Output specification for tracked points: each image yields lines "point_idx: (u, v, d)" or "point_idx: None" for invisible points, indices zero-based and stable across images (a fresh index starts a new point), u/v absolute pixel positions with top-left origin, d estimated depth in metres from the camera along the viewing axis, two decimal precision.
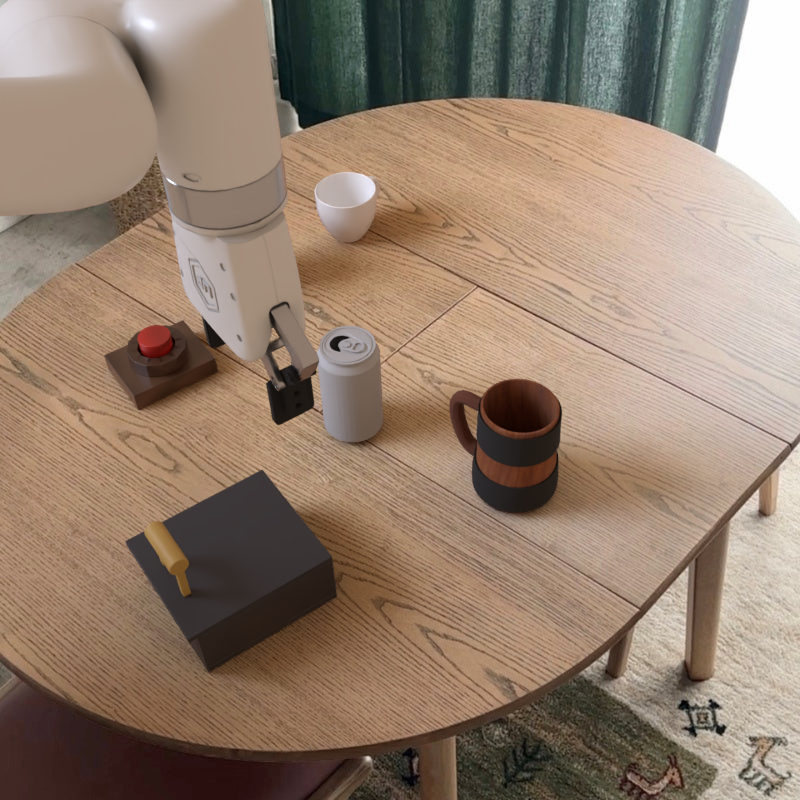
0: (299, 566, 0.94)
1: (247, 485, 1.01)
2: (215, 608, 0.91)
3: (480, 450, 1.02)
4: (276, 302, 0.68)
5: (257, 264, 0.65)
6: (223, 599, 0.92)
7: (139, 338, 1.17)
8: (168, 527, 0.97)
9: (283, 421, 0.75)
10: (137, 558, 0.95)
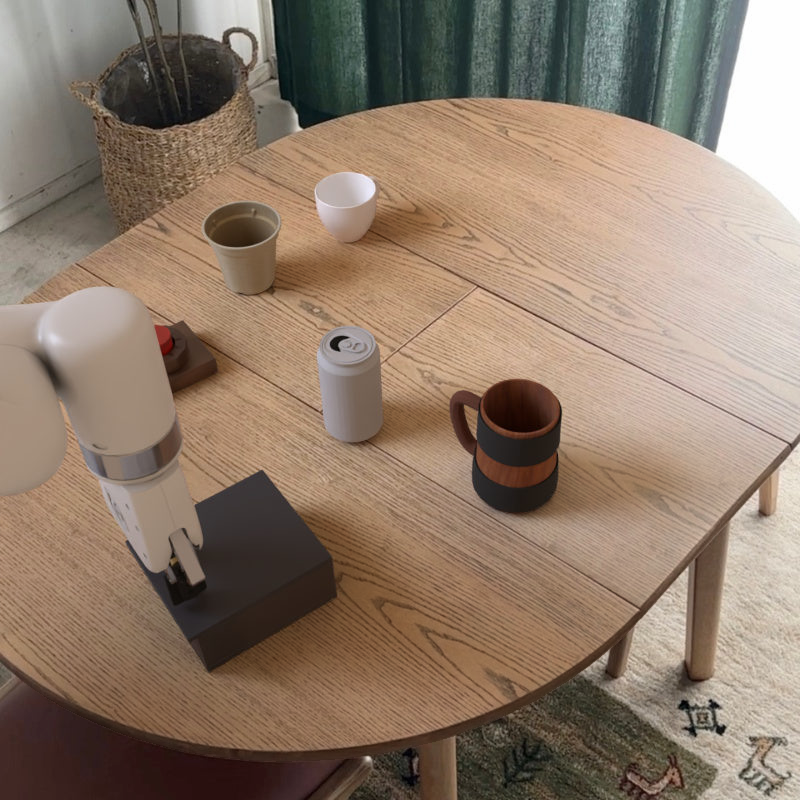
0: (299, 566, 0.94)
1: (247, 485, 1.01)
2: (215, 608, 0.91)
3: (480, 450, 1.02)
4: (174, 529, 0.82)
5: (155, 505, 0.79)
6: (223, 599, 0.92)
7: None
8: None
9: (180, 602, 0.91)
10: (137, 558, 0.95)
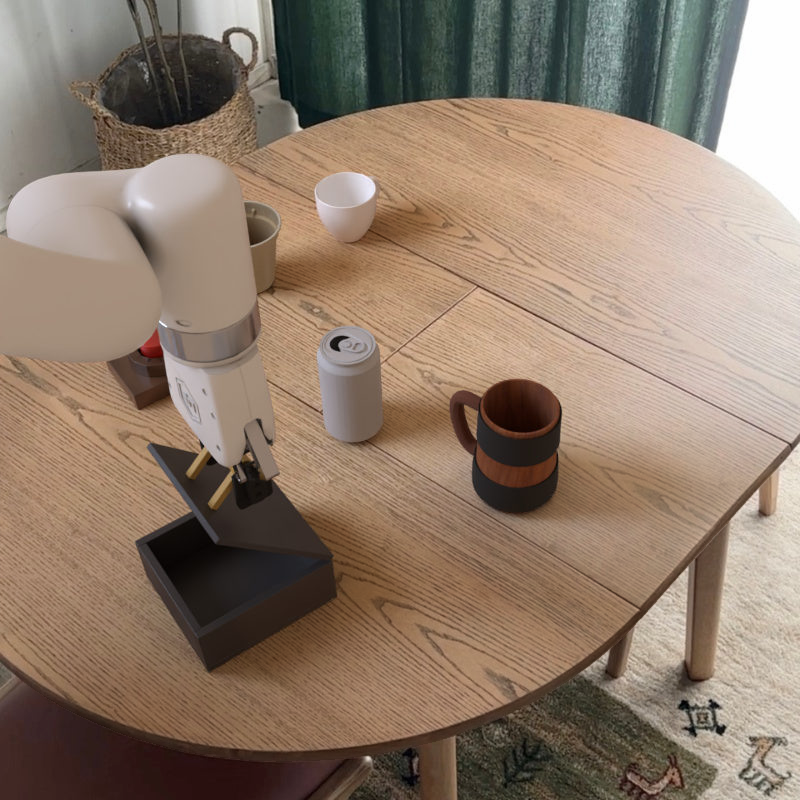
0: (308, 546, 0.93)
1: None
2: (240, 532, 0.87)
3: (480, 450, 1.02)
4: (250, 419, 0.79)
5: (234, 390, 0.77)
6: (246, 530, 0.88)
7: None
8: (188, 456, 0.93)
9: (246, 506, 0.88)
10: (163, 459, 0.89)
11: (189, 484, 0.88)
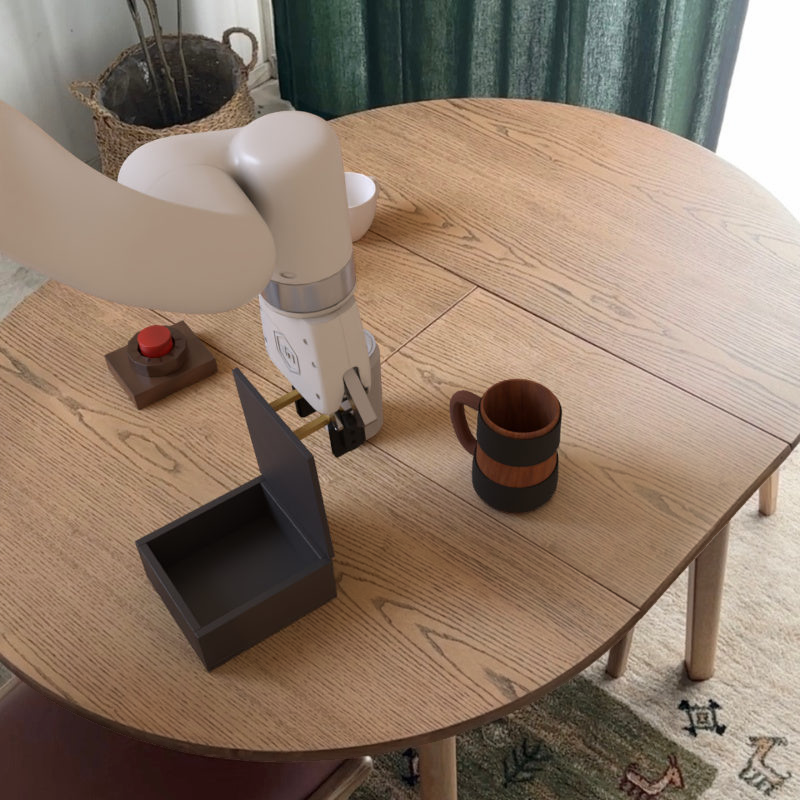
0: None
1: None
2: None
3: (480, 450, 1.02)
4: (348, 367, 0.82)
5: (334, 339, 0.80)
6: None
7: (139, 338, 1.17)
8: None
9: (341, 454, 0.92)
10: (251, 383, 0.90)
11: None
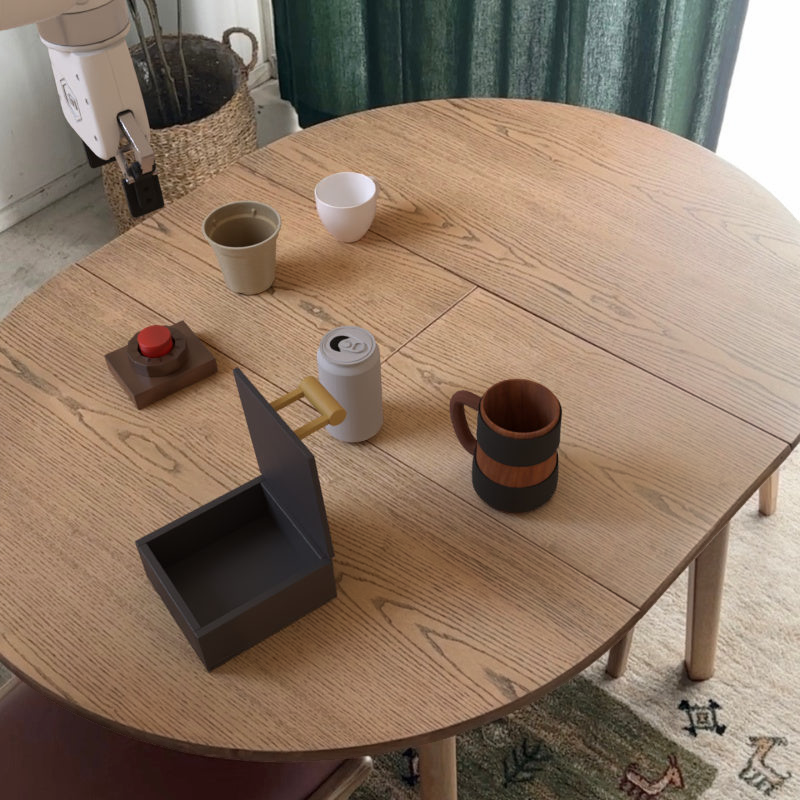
0: None
1: None
2: None
3: (480, 450, 1.02)
4: (121, 109, 0.90)
5: (103, 75, 0.87)
6: None
7: (139, 338, 1.17)
8: None
9: (138, 215, 0.97)
10: None
11: None
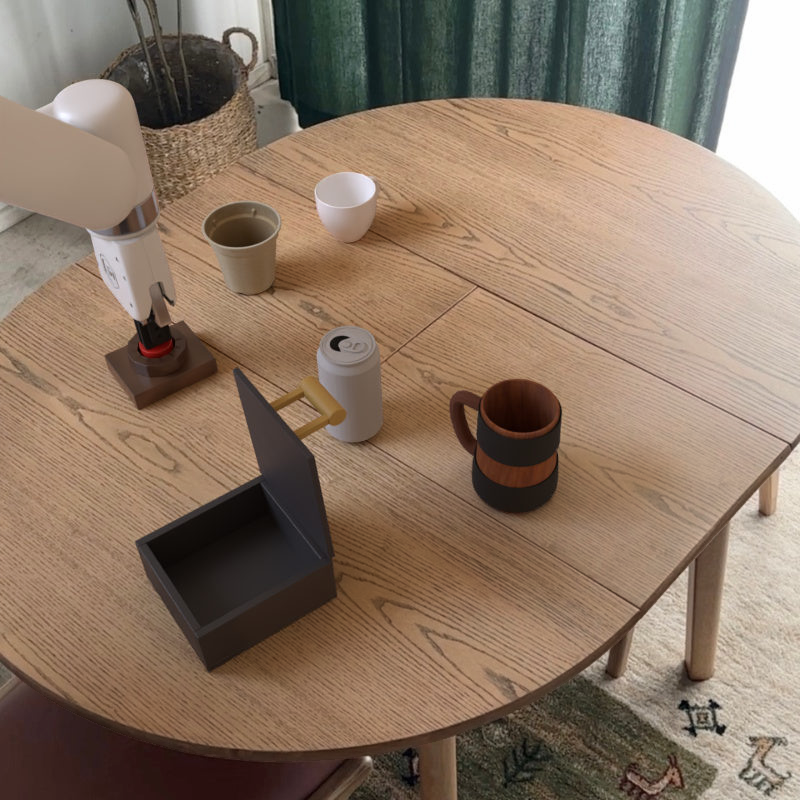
0: None
1: None
2: None
3: (480, 450, 1.02)
4: (153, 282, 1.06)
5: (138, 258, 1.04)
6: None
7: (141, 344, 1.17)
8: None
9: (150, 347, 1.17)
10: None
11: None
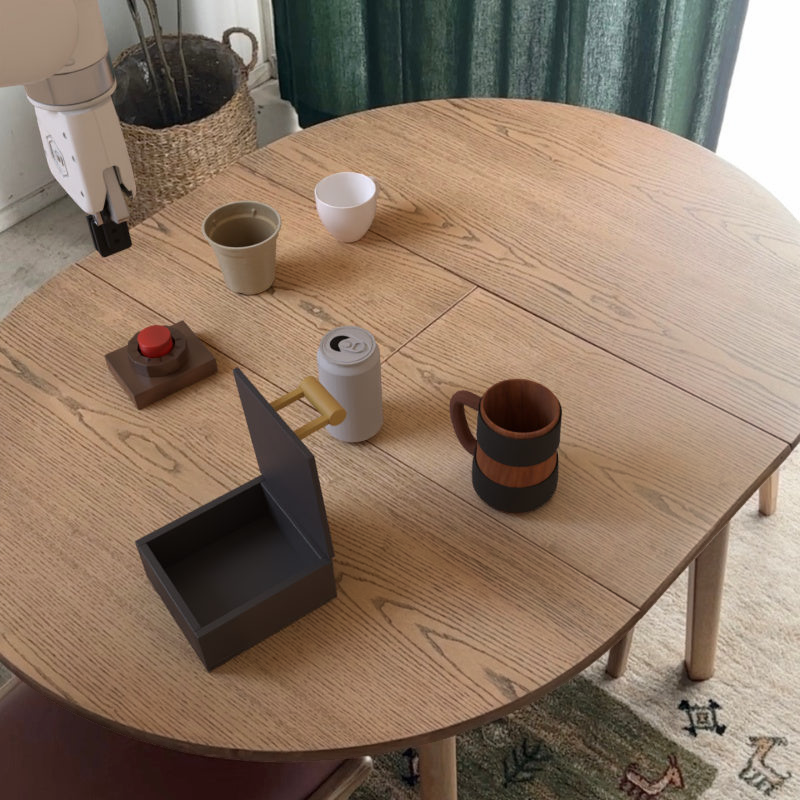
0: None
1: None
2: None
3: (480, 450, 1.02)
4: (108, 165, 0.91)
5: (89, 133, 0.88)
6: None
7: (139, 338, 1.17)
8: None
9: (107, 255, 1.01)
10: None
11: None
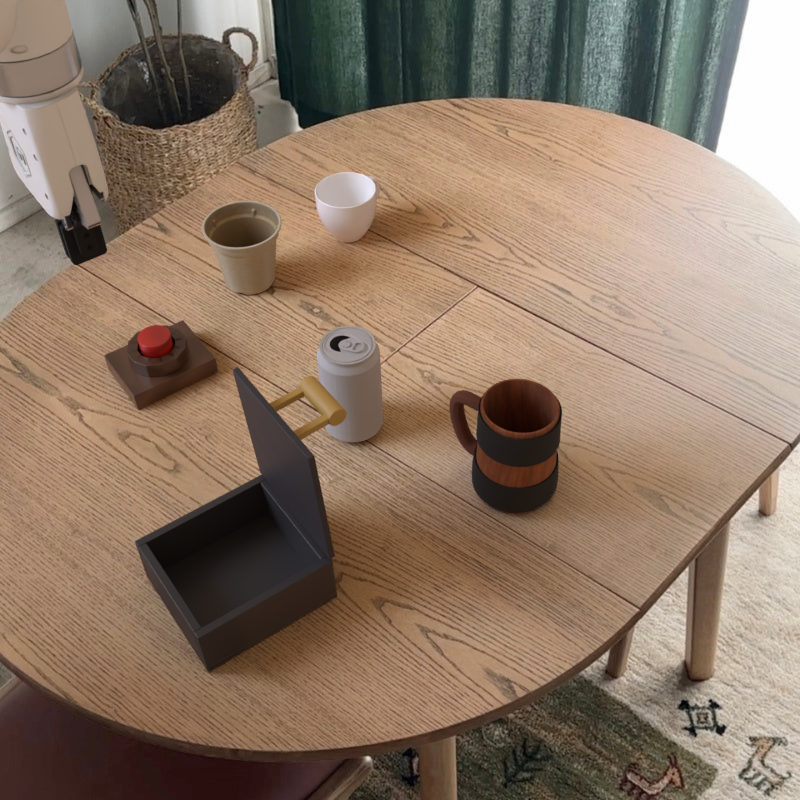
0: None
1: None
2: None
3: (480, 450, 1.02)
4: (74, 164, 0.81)
5: (52, 128, 0.78)
6: None
7: (139, 338, 1.17)
8: None
9: (79, 262, 0.91)
10: None
11: None
